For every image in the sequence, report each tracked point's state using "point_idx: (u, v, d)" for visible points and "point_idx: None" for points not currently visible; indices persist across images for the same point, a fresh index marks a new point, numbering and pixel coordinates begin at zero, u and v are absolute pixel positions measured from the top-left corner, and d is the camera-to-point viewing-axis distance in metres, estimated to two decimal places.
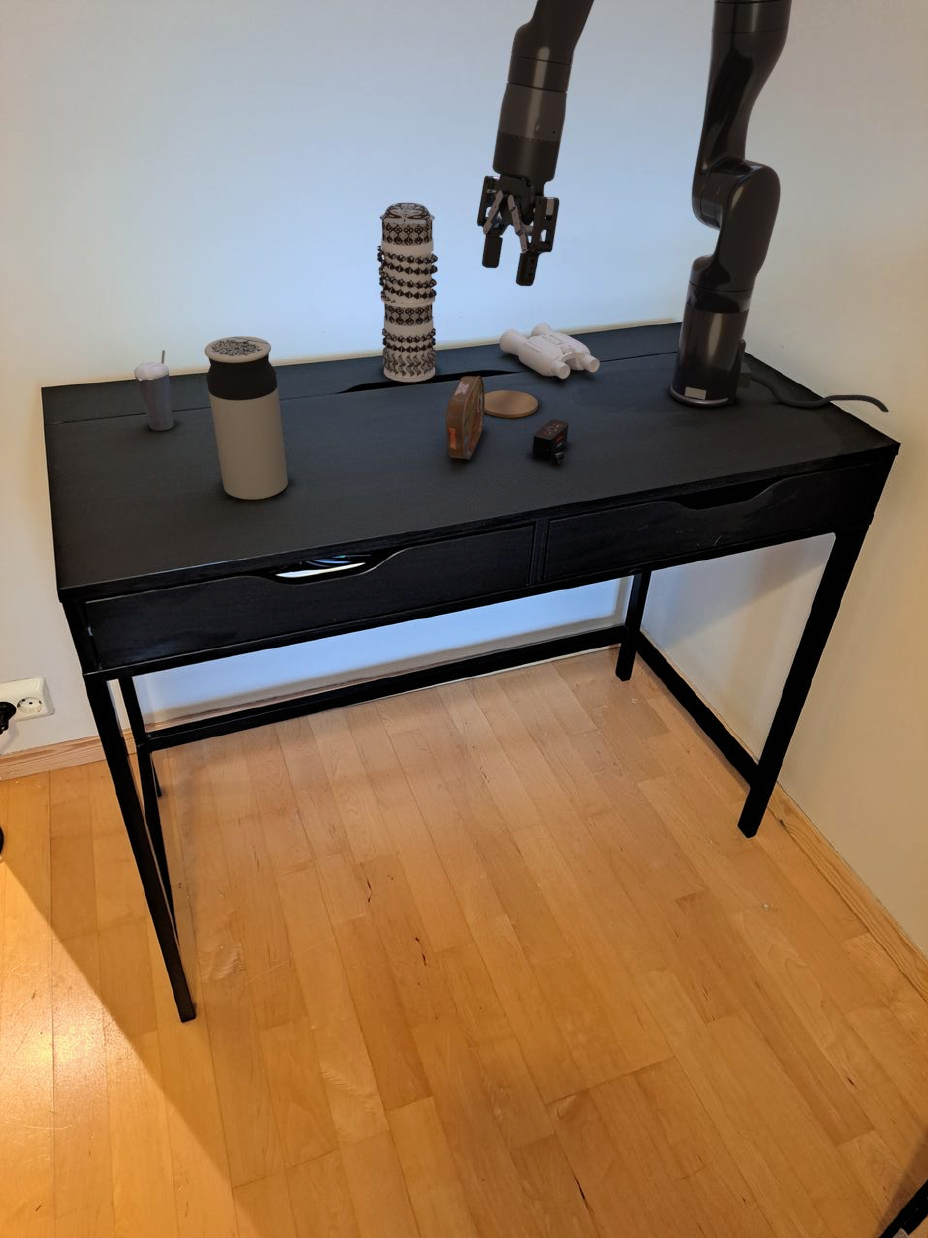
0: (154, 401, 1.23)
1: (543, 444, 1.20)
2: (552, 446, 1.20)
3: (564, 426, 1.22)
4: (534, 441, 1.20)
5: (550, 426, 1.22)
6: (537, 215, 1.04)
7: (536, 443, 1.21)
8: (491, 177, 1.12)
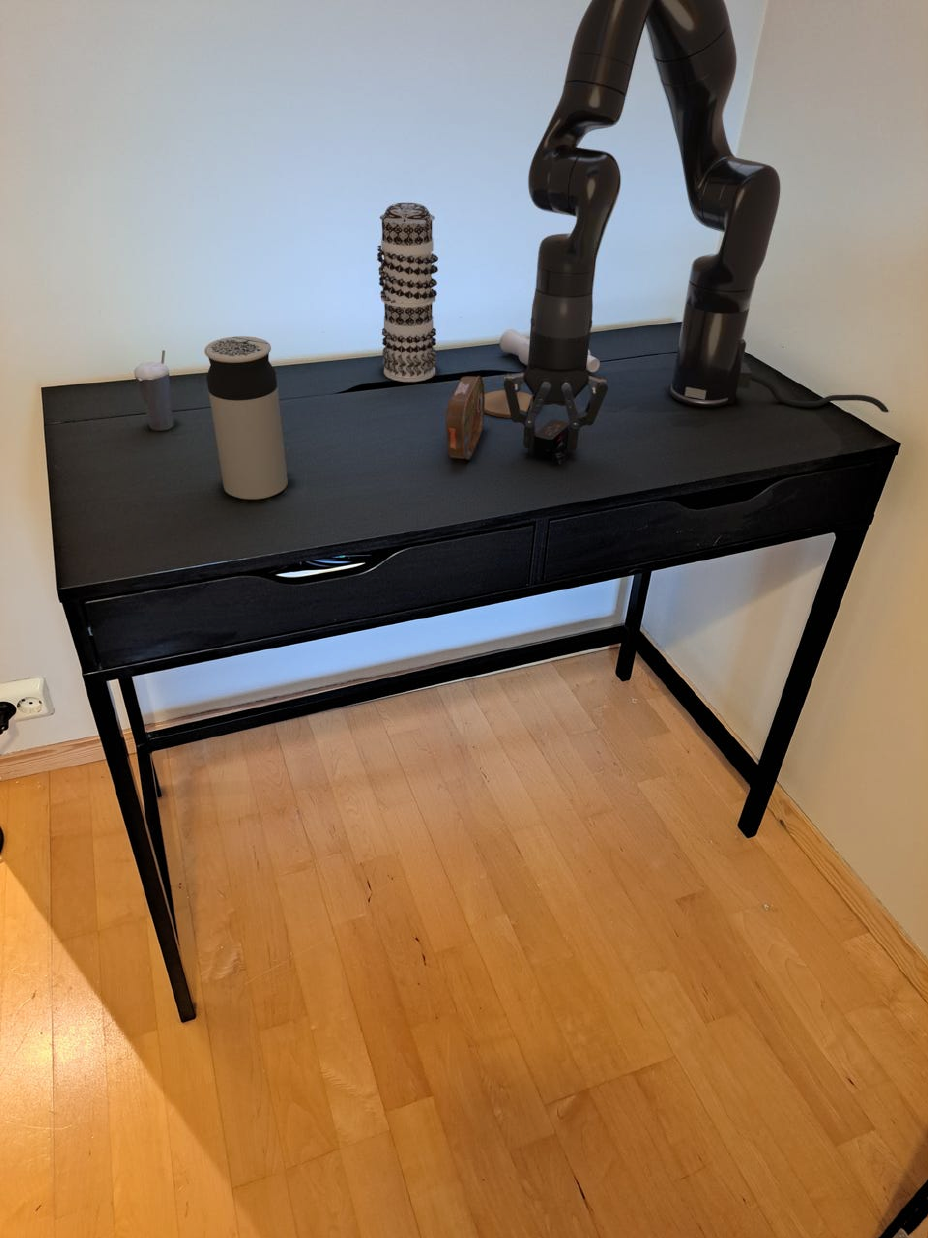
0: (154, 401, 1.23)
1: (544, 444, 1.20)
2: (552, 446, 1.20)
3: (564, 426, 1.22)
4: (535, 441, 1.20)
5: (550, 427, 1.22)
6: (599, 398, 1.16)
7: (537, 444, 1.20)
8: (509, 379, 1.16)
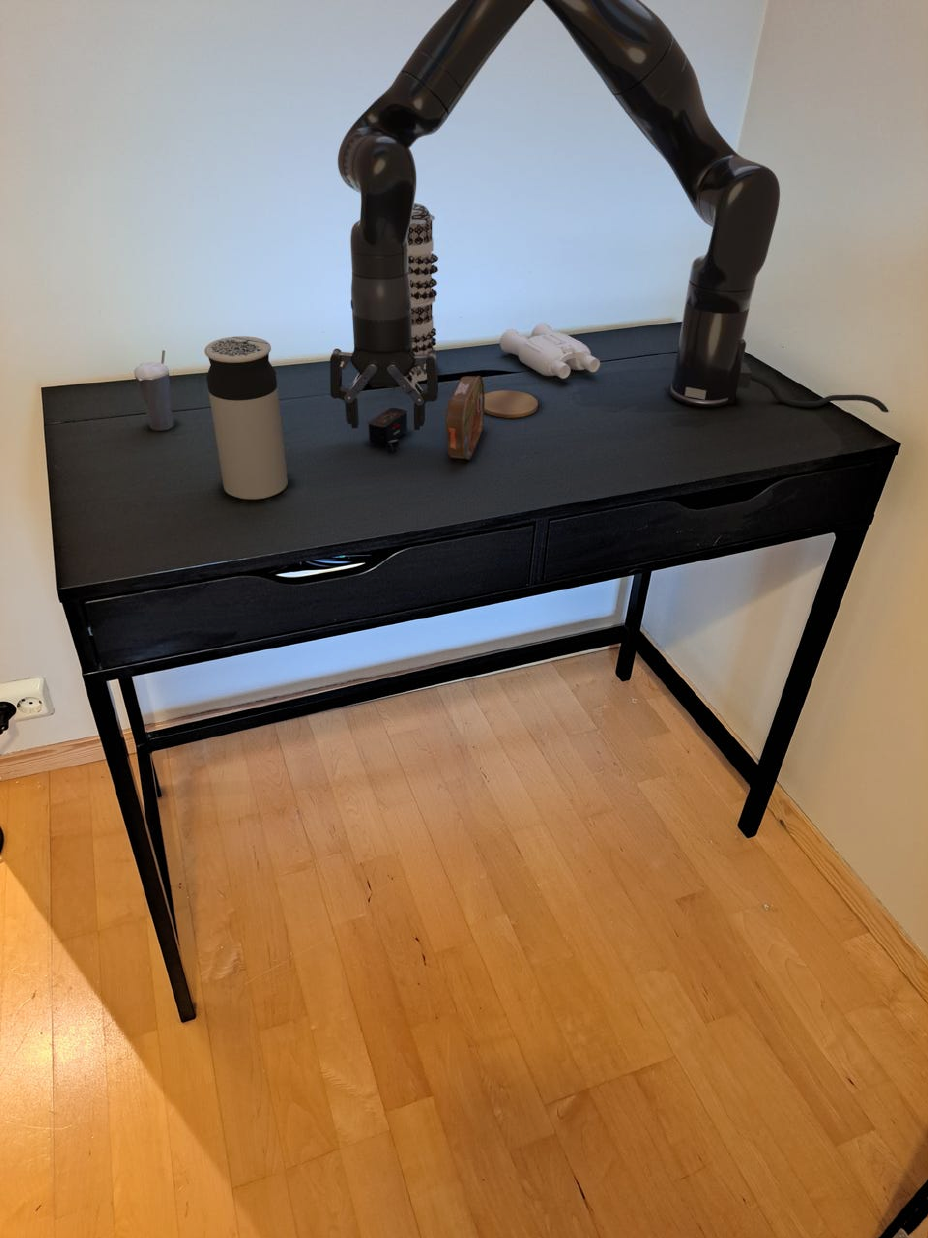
0: (154, 401, 1.23)
1: (377, 431, 1.22)
2: (387, 434, 1.22)
3: (401, 414, 1.25)
4: (369, 429, 1.22)
5: (387, 415, 1.24)
6: (431, 372, 1.17)
7: (372, 431, 1.23)
8: (337, 354, 1.17)
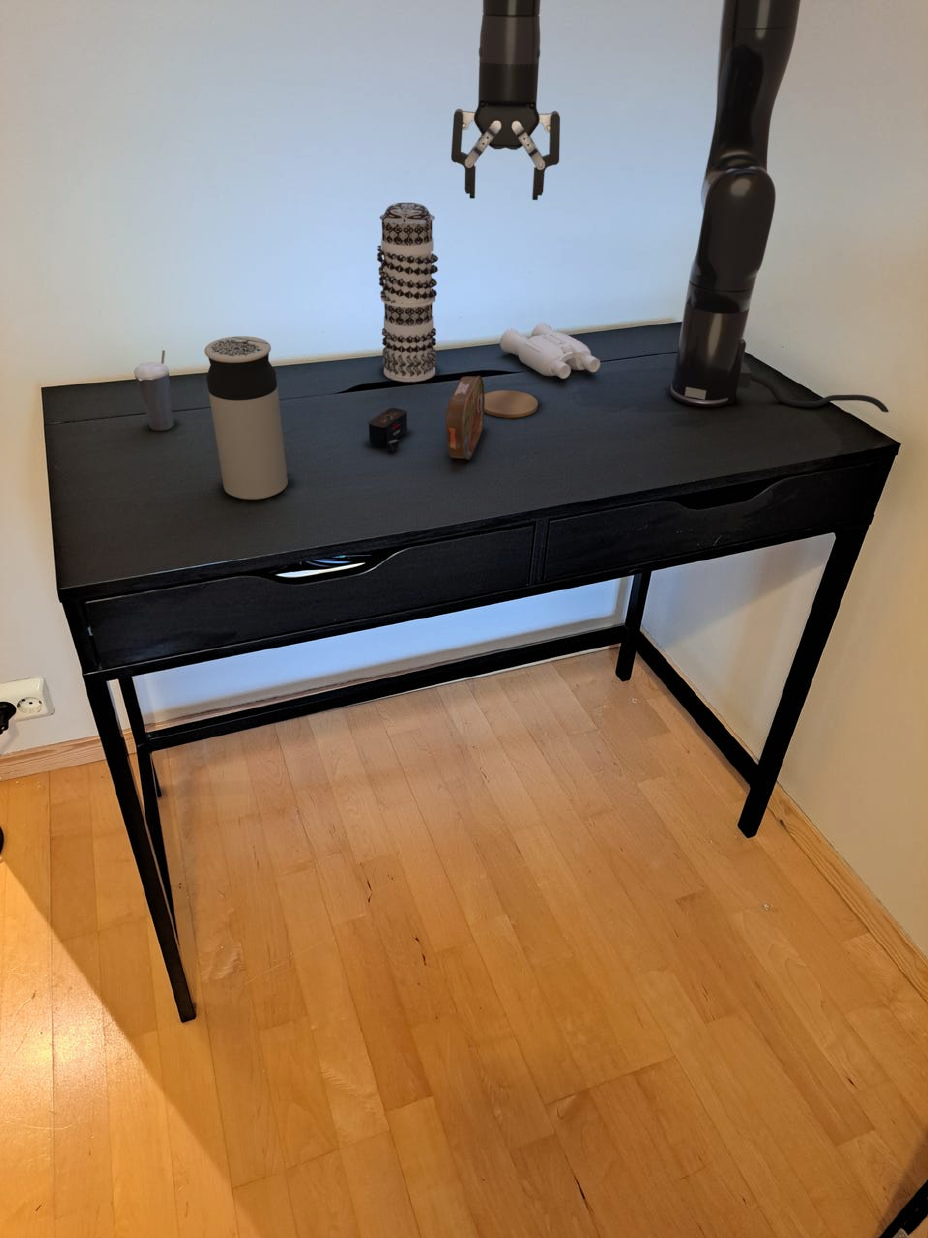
0: (154, 401, 1.23)
1: (377, 431, 1.22)
2: (386, 434, 1.22)
3: (401, 414, 1.25)
4: (369, 429, 1.22)
5: (387, 415, 1.24)
6: (555, 131, 1.16)
7: (372, 431, 1.23)
8: (461, 111, 1.16)
